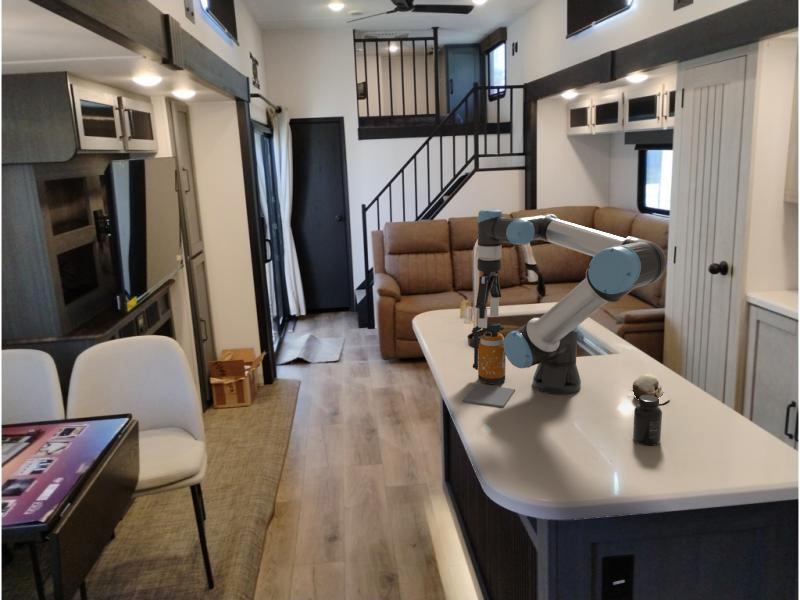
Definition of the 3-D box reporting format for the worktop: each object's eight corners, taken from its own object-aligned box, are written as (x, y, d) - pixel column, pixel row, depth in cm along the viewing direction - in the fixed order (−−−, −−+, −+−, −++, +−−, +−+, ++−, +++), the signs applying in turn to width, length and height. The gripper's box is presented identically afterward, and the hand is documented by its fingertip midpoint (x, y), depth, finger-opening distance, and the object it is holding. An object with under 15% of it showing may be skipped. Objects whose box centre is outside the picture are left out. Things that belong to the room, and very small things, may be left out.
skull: (647, 383, 202) (665, 368, 194) (662, 413, 197) (682, 398, 189) (617, 388, 198) (634, 372, 190) (631, 418, 193) (650, 403, 184)
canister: (504, 386, 206) (505, 327, 201) (470, 384, 208) (470, 326, 203) (505, 376, 214) (506, 319, 209) (473, 374, 216) (473, 318, 212)
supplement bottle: (659, 436, 169) (662, 394, 166) (660, 447, 163) (664, 404, 160) (632, 433, 171) (635, 391, 168) (632, 444, 165) (635, 401, 162)
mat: (515, 390, 202) (515, 389, 201) (503, 407, 189) (503, 405, 189) (476, 385, 207) (476, 383, 207) (462, 401, 194) (462, 399, 194)
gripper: (489, 250, 213) (488, 311, 219) (465, 264, 191) (465, 331, 197) (510, 252, 210) (509, 313, 216) (489, 266, 188) (489, 333, 194)
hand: (488, 321), depth 206 cm, fingers open, 13 cm apart
